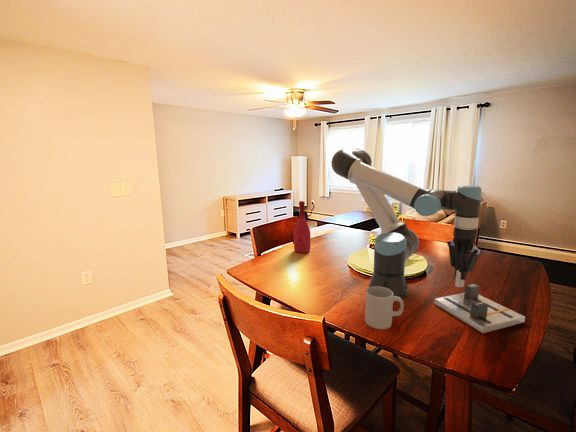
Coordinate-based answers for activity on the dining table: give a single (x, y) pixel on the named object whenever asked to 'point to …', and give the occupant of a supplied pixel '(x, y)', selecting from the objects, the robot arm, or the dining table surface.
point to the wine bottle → (302, 232)
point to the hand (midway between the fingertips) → (459, 286)
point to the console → (479, 312)
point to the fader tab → (471, 291)
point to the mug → (381, 307)
